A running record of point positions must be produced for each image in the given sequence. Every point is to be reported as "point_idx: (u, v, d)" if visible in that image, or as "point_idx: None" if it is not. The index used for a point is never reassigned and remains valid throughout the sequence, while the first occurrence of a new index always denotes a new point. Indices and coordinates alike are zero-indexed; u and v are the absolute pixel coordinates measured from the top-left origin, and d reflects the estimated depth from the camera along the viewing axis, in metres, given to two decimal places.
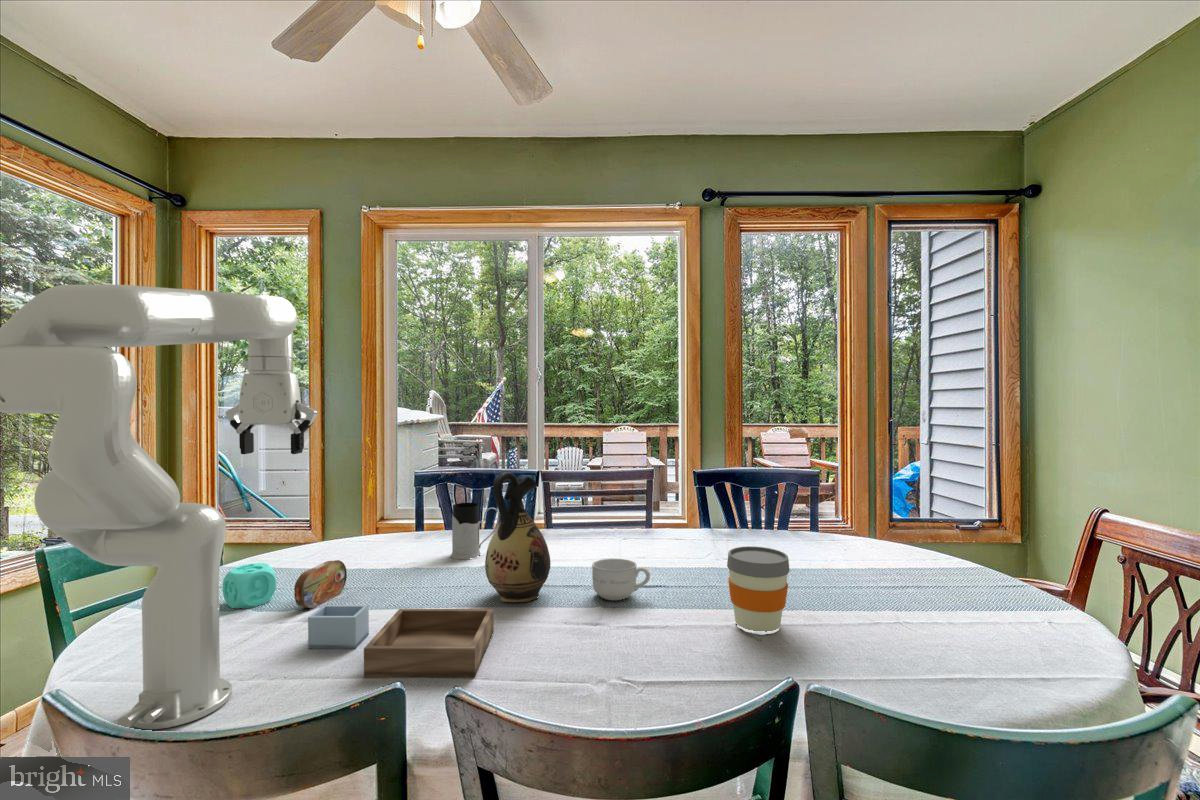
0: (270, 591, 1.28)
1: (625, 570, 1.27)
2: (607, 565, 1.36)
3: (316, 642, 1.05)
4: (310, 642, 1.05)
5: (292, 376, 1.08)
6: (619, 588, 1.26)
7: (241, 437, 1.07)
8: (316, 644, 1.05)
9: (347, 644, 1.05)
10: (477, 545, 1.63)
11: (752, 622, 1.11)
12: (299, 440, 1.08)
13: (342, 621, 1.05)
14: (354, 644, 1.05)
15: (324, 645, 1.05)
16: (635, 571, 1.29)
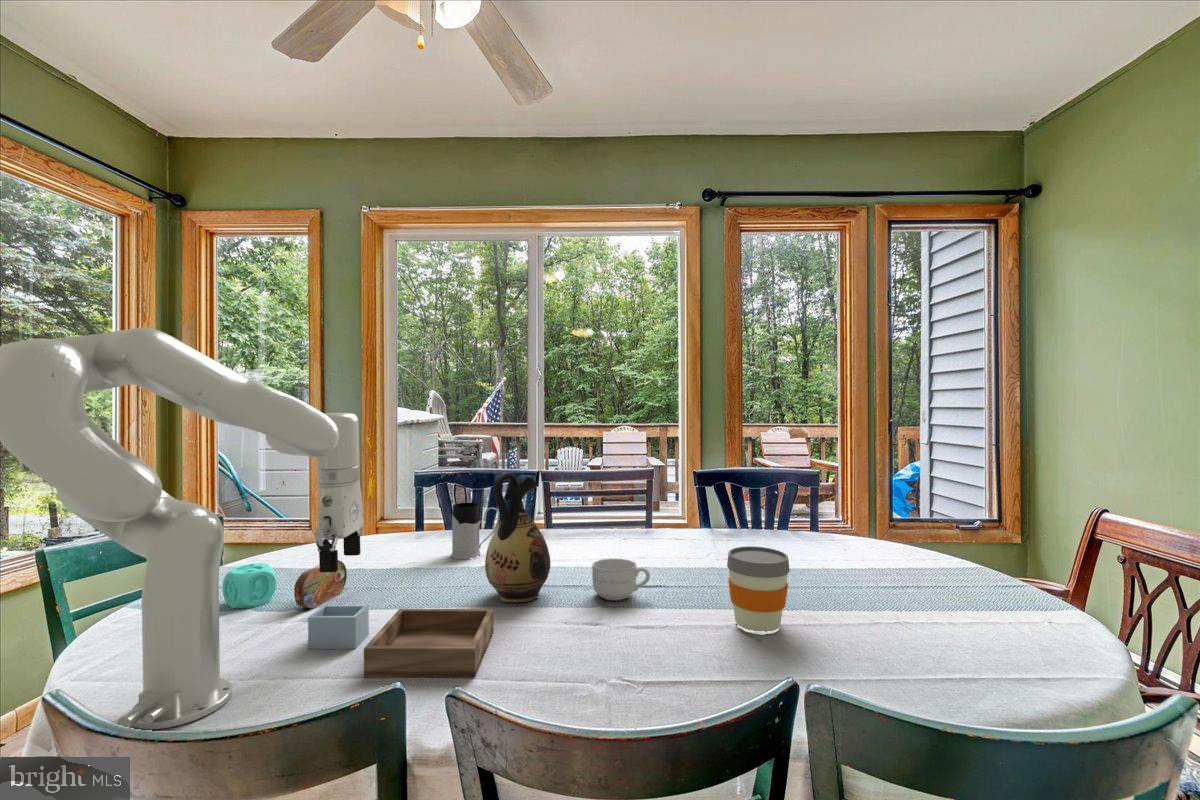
0: (270, 591, 1.28)
1: (625, 570, 1.27)
2: (607, 565, 1.36)
3: (316, 642, 1.05)
4: (310, 642, 1.05)
5: None
6: (619, 588, 1.26)
7: (337, 554, 1.03)
8: (316, 644, 1.05)
9: (347, 644, 1.05)
10: (477, 545, 1.63)
11: (752, 622, 1.11)
12: None
13: (342, 621, 1.05)
14: (354, 644, 1.05)
15: (324, 645, 1.05)
16: (635, 571, 1.29)
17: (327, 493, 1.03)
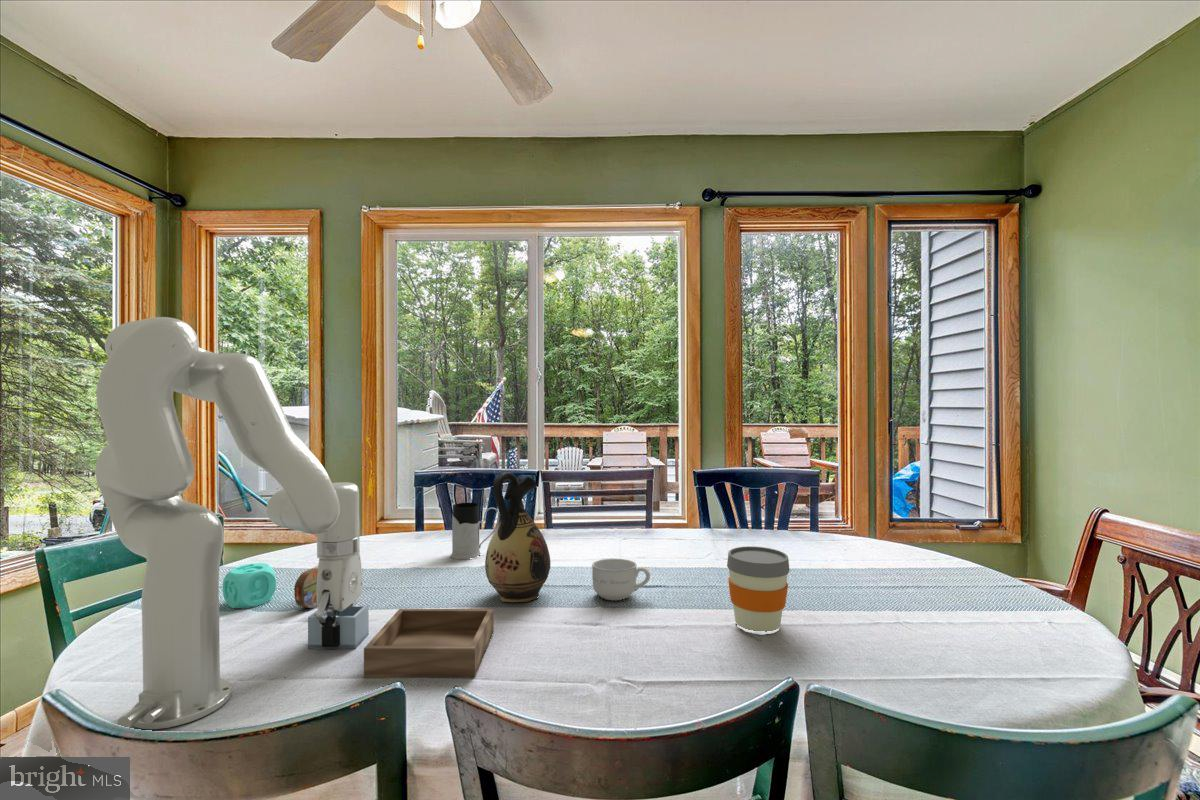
0: (270, 591, 1.28)
1: (625, 570, 1.27)
2: (607, 565, 1.36)
3: (316, 642, 1.05)
4: (310, 642, 1.05)
5: None
6: (619, 588, 1.26)
7: (339, 629, 1.04)
8: (316, 644, 1.05)
9: (347, 644, 1.05)
10: (477, 545, 1.63)
11: (752, 622, 1.11)
12: None
13: (342, 621, 1.05)
14: (354, 644, 1.05)
15: None
16: (635, 571, 1.29)
17: (327, 566, 1.03)
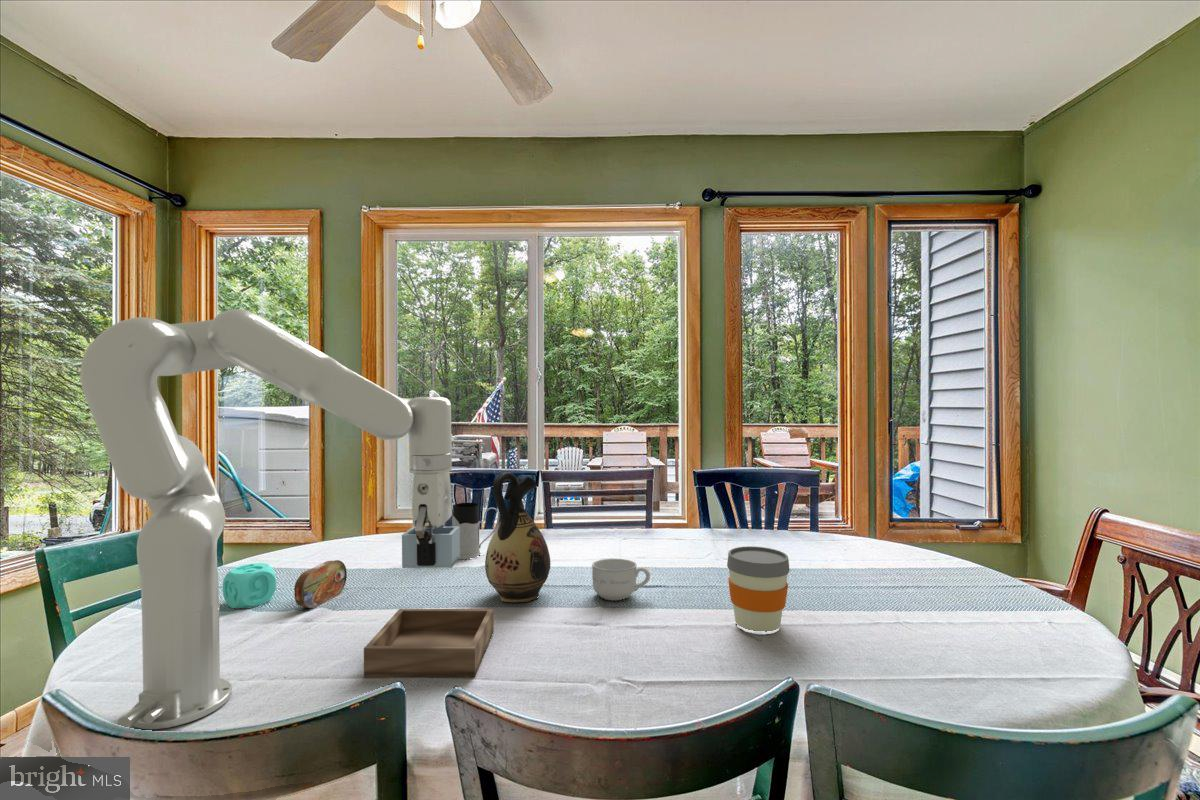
0: (270, 591, 1.28)
1: (625, 570, 1.27)
2: (607, 565, 1.36)
3: (410, 561, 1.00)
4: (404, 561, 1.00)
5: None
6: (619, 588, 1.26)
7: (435, 547, 0.99)
8: (411, 564, 1.00)
9: (443, 563, 1.00)
10: (477, 545, 1.63)
11: (752, 622, 1.11)
12: None
13: (437, 539, 1.00)
14: (450, 563, 1.00)
15: None
16: (635, 571, 1.29)
17: (423, 480, 0.98)
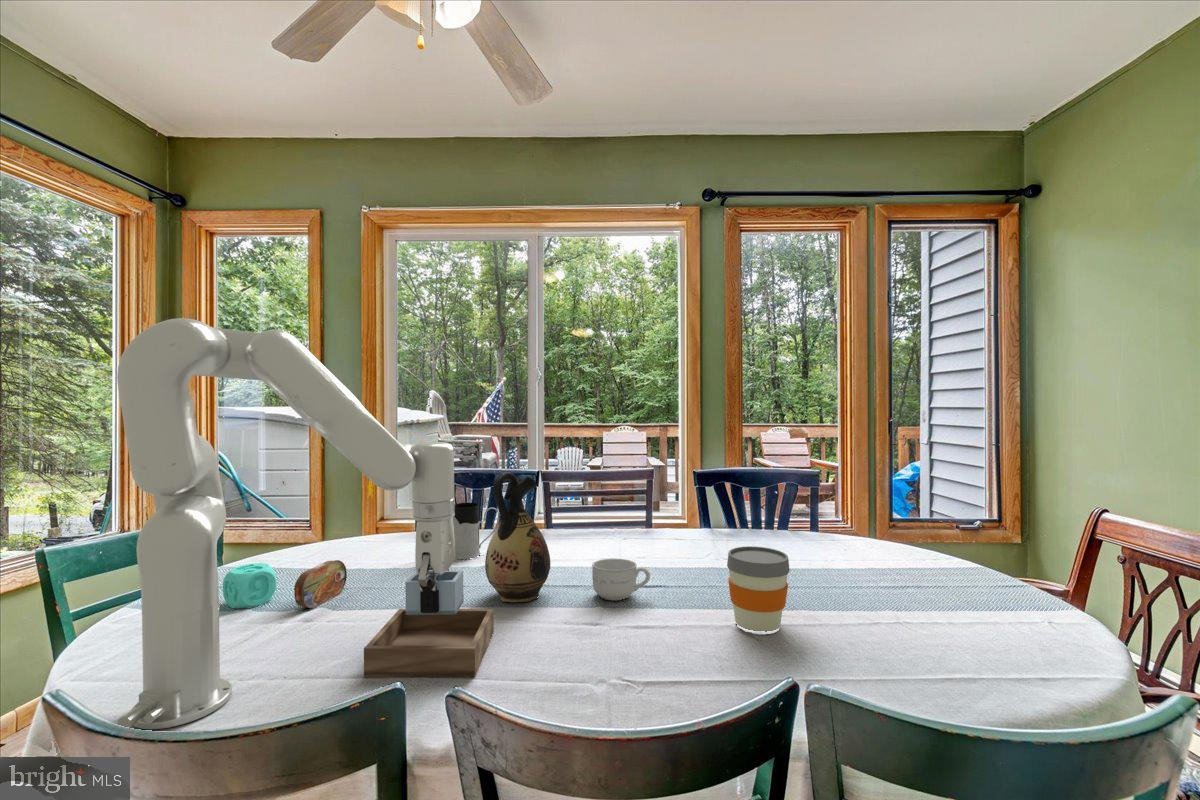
0: (270, 591, 1.28)
1: (625, 570, 1.27)
2: (607, 565, 1.36)
3: (414, 608, 1.00)
4: (408, 608, 1.00)
5: None
6: (619, 588, 1.26)
7: (438, 594, 0.99)
8: (414, 610, 1.00)
9: (446, 609, 1.00)
10: (477, 545, 1.63)
11: (752, 622, 1.11)
12: None
13: (441, 586, 1.00)
14: (454, 610, 1.00)
15: None
16: (635, 571, 1.29)
17: (426, 528, 0.98)
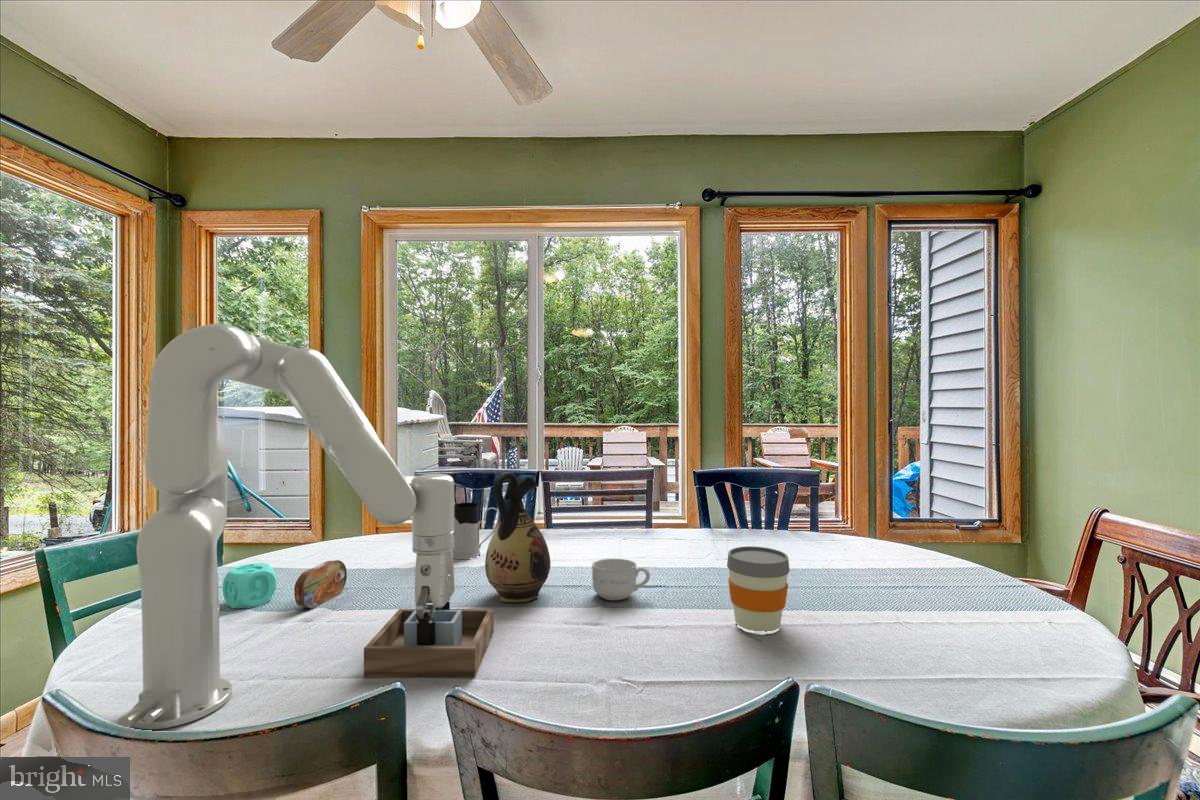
0: (270, 591, 1.28)
1: (625, 570, 1.27)
2: (607, 565, 1.36)
3: None
4: None
5: None
6: (619, 588, 1.26)
7: (435, 626, 0.98)
8: None
9: None
10: (477, 545, 1.63)
11: (752, 622, 1.11)
12: None
13: (439, 627, 1.00)
14: None
15: None
16: (635, 571, 1.29)
17: (425, 561, 0.98)
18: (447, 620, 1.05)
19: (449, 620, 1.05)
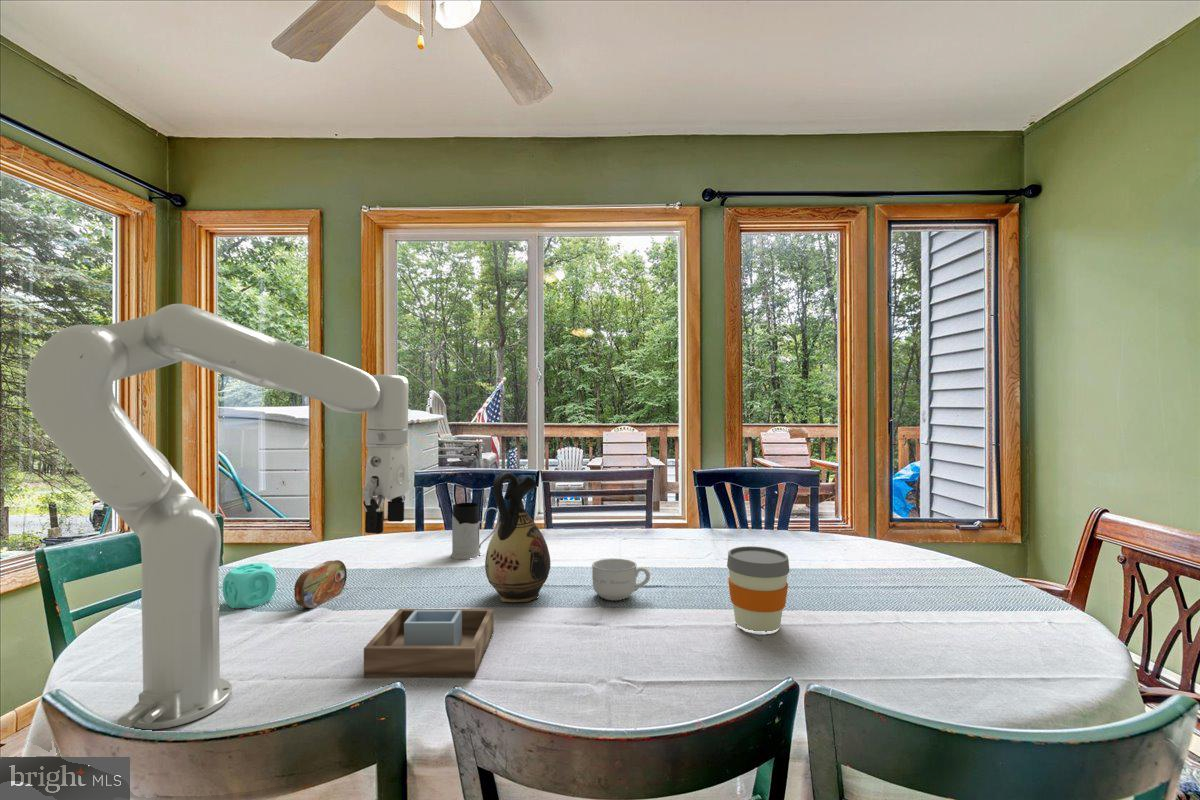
0: (270, 591, 1.28)
1: (625, 570, 1.27)
2: (607, 565, 1.36)
3: None
4: None
5: None
6: (619, 588, 1.26)
7: (382, 515, 1.02)
8: None
9: None
10: (477, 545, 1.63)
11: (752, 622, 1.11)
12: None
13: (439, 627, 1.00)
14: None
15: None
16: (635, 571, 1.29)
17: (376, 453, 1.02)
18: (447, 620, 1.05)
19: (449, 620, 1.05)
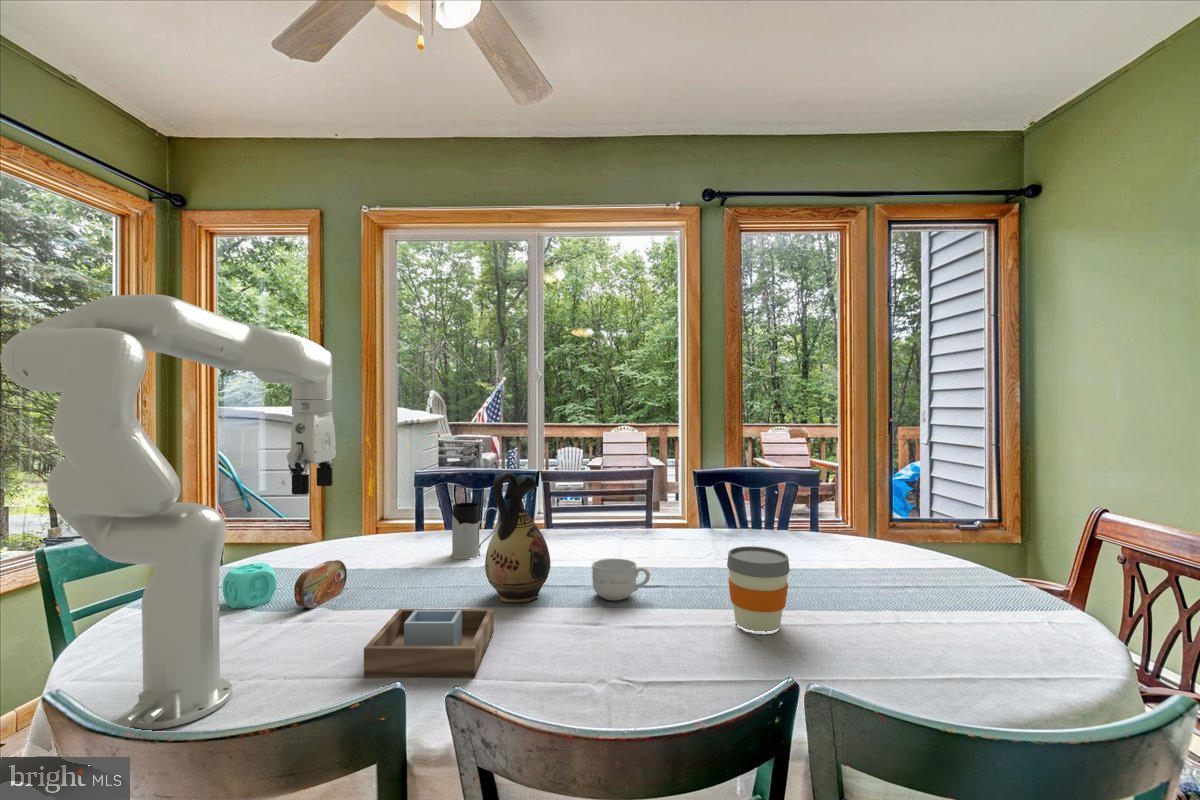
0: (270, 591, 1.28)
1: (625, 570, 1.27)
2: (607, 565, 1.36)
3: None
4: None
5: None
6: (619, 588, 1.26)
7: (308, 477, 1.10)
8: None
9: None
10: (477, 545, 1.63)
11: (752, 622, 1.11)
12: None
13: (439, 627, 1.00)
14: None
15: None
16: (635, 571, 1.29)
17: (300, 421, 1.10)
18: (447, 620, 1.05)
19: (449, 620, 1.05)
